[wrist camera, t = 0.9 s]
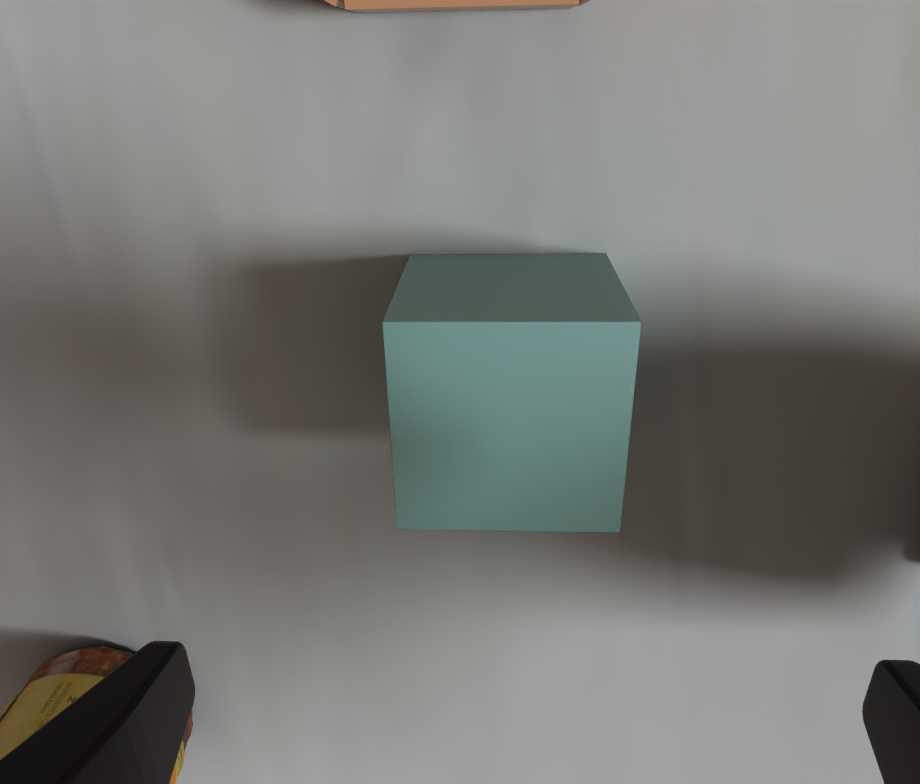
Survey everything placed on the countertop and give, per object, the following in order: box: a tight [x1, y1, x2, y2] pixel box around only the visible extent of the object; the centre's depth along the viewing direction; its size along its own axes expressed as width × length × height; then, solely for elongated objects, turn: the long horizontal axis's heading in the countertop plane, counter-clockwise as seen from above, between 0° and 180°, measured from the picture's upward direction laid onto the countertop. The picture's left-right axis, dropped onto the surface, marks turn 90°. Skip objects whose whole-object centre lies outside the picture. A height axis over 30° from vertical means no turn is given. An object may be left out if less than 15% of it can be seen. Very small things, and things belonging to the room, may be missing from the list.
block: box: [383, 253, 641, 533], centre depth 17 cm, size 5×5×5 cm
